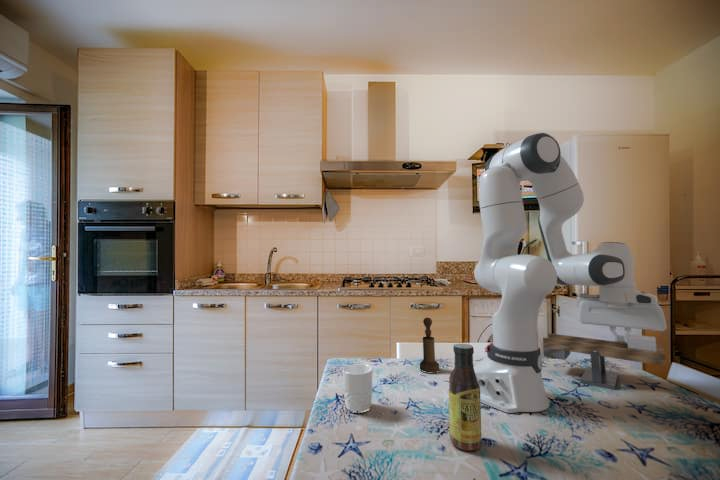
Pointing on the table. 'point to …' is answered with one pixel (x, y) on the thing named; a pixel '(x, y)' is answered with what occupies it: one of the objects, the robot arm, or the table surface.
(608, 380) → the beam stand
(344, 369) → the white cup
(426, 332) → the mortar and pestle
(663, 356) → the balance beam
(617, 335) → the robot arm
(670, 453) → the table surface
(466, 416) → the sauce bottle
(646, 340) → the steel rider
